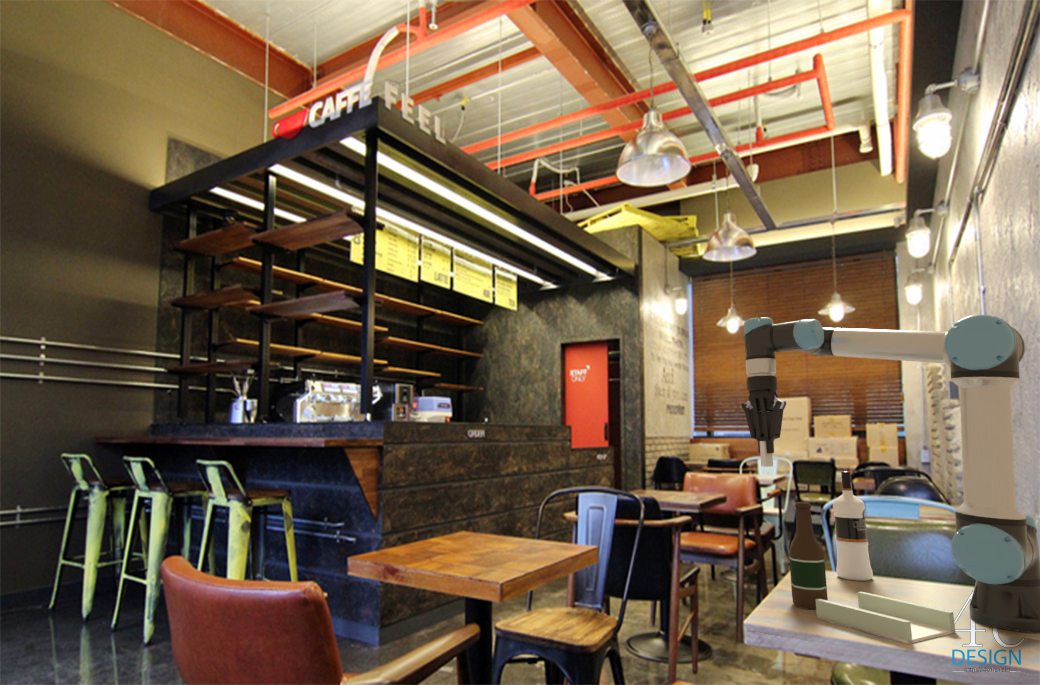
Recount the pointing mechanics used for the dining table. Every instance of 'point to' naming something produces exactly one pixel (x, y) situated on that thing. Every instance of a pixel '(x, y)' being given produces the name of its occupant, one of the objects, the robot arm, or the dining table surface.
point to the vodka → (851, 534)
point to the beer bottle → (806, 562)
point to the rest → (889, 618)
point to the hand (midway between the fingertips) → (767, 466)
